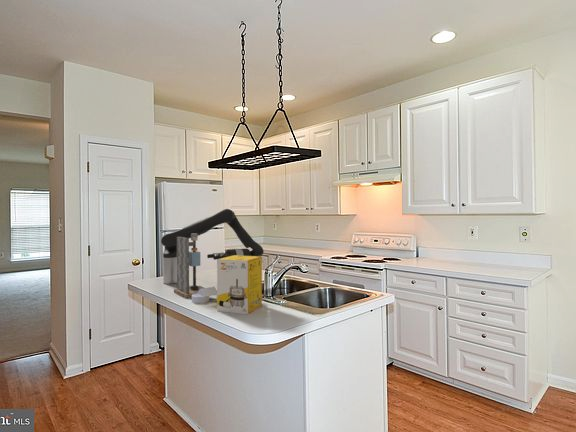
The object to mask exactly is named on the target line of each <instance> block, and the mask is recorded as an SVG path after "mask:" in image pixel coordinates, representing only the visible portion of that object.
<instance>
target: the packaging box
mask: <svg viewBox="0 0 576 432" xmlns="http://www.w3.org/2000/svg"><path fill="white" fill-rule="evenodd" d="M262 258H263V257H262V256H261V257H260V256H238V255H233V256H229V257H225V258H221V259H216V290H217V294H216V296H217V299H216V306H217V307H216V308H217V309H216V310H217V312H224V313H233V314H242V315H249V314H251V313H252V312H253V311H256V310H257V309H258V308H260V307H262V305H263V296H262V295H263V292H262V291H263V284H262V283H263V282H262V281H263V279H262V278H263V277H262V275H263V273H262V272H263V271H262V270H263V268H262V267H263V266H262V265H263V264H262V263H263V260H262Z"/></svg>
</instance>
